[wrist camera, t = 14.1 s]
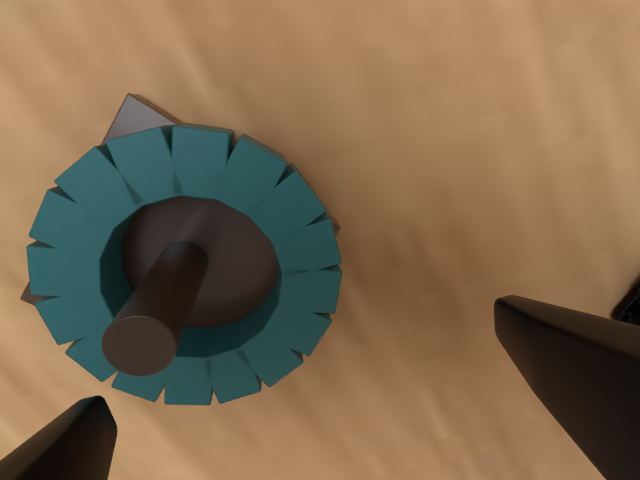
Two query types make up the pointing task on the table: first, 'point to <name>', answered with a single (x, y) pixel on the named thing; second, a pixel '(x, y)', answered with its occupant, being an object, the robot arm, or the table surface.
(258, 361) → the hoop
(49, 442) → the robot arm
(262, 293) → the stand
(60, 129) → the table surface
